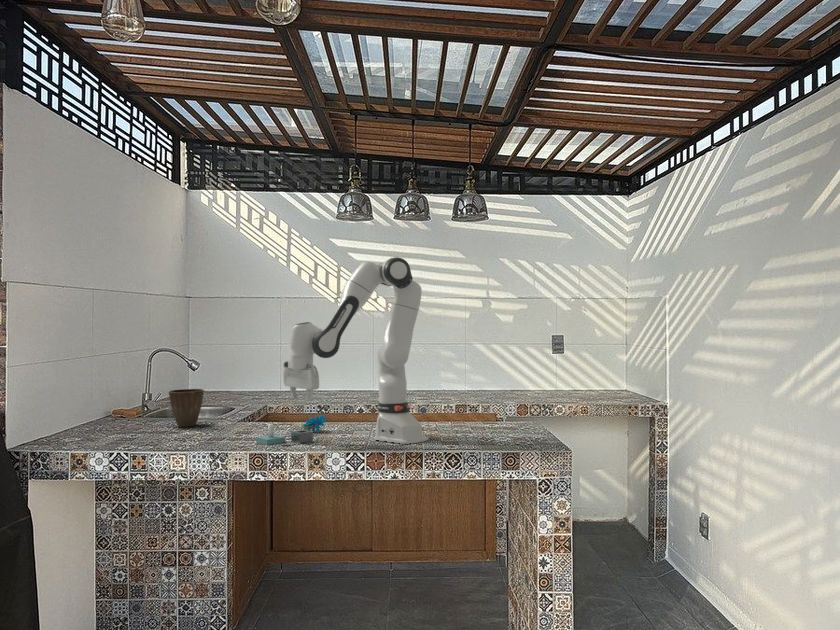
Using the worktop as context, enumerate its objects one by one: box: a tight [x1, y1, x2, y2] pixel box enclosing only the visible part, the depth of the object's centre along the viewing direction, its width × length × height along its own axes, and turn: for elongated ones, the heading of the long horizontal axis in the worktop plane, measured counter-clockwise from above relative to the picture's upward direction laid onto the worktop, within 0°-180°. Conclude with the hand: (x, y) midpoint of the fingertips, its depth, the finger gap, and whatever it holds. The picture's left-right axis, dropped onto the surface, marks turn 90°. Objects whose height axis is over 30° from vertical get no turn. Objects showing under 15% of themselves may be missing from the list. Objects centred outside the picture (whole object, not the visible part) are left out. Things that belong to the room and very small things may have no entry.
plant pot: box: [168, 388, 205, 428], centre depth 292 cm, size 15×15×16 cm
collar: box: [290, 429, 314, 445], centre depth 252 cm, size 6×6×4 cm
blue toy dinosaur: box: [301, 414, 327, 434], centre depth 273 cm, size 11×6×10 cm
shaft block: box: [255, 423, 286, 446], centre depth 252 cm, size 8×8×7 cm
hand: (301, 399), depth 252 cm, fingers open, 8 cm apart
